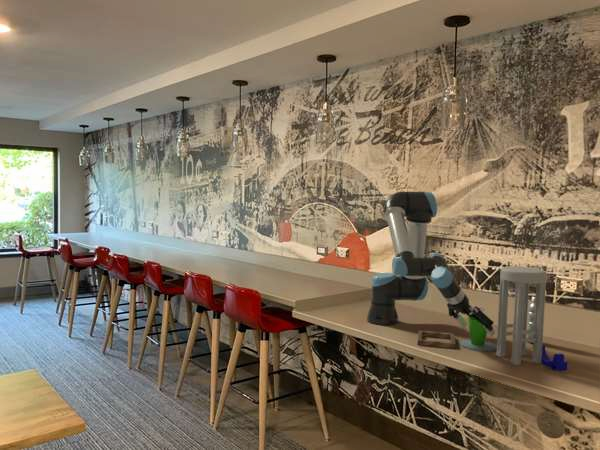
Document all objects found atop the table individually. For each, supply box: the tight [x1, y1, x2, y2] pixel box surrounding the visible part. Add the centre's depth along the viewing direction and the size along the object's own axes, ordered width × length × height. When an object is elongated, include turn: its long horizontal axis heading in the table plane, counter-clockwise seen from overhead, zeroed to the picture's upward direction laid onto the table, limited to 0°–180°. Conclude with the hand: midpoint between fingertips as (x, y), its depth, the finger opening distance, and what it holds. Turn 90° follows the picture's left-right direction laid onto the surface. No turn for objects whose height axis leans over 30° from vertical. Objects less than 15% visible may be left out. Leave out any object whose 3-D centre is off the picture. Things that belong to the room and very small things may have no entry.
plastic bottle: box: [526, 295, 536, 344], centre depth 209 cm, size 6×7×20 cm
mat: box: [460, 338, 497, 352], centre depth 204 cm, size 14×14×1 cm
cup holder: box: [417, 329, 456, 349], centre depth 209 cm, size 15×15×2 cm
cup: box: [467, 316, 488, 346], centre depth 203 cm, size 9×9×11 cm
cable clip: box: [540, 343, 569, 372], centre depth 183 cm, size 12×4×6 cm, turn 10°
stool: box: [495, 265, 547, 366], centre depth 188 cm, size 16×16×35 cm
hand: (478, 330), depth 203 cm, fingers open, 13 cm apart
